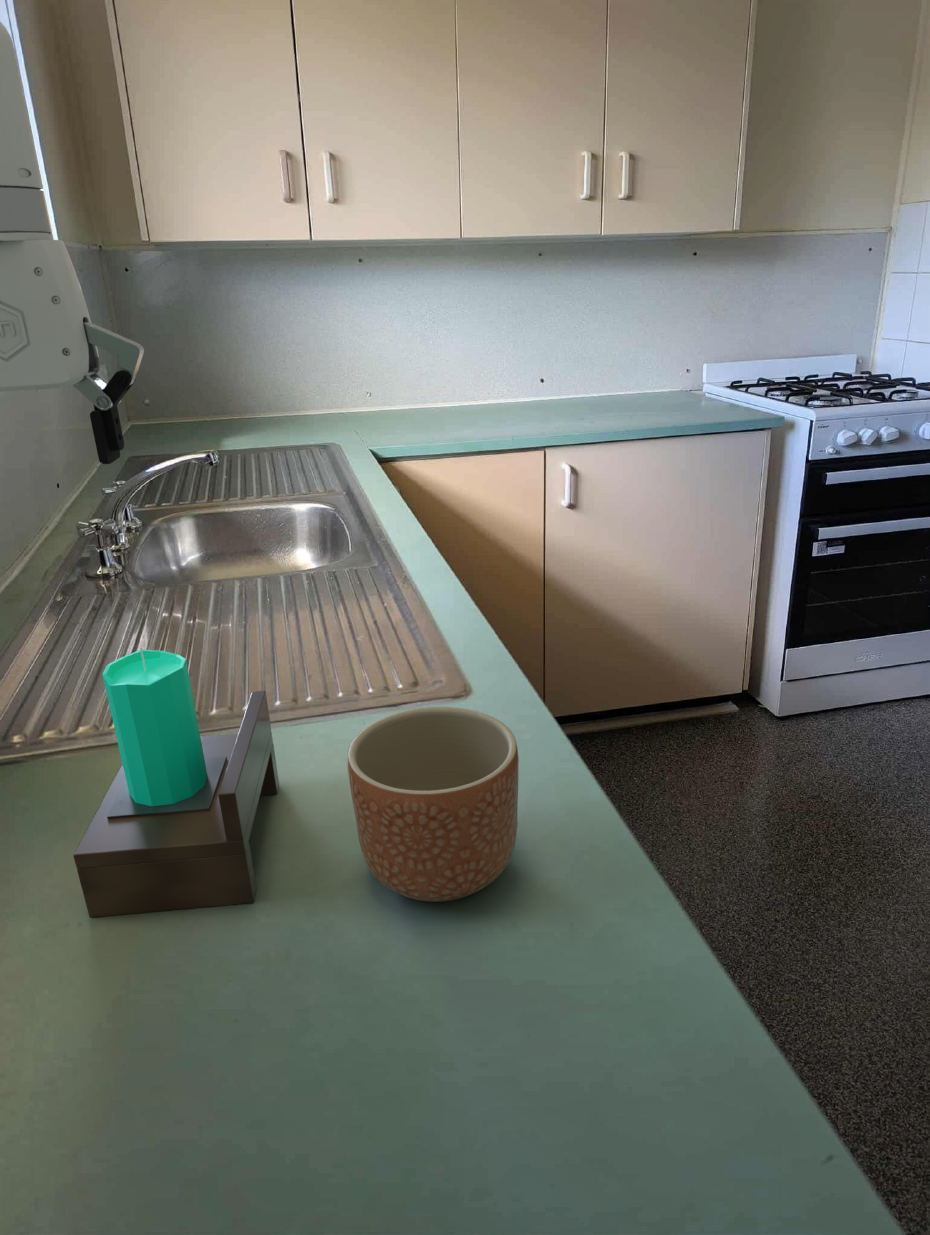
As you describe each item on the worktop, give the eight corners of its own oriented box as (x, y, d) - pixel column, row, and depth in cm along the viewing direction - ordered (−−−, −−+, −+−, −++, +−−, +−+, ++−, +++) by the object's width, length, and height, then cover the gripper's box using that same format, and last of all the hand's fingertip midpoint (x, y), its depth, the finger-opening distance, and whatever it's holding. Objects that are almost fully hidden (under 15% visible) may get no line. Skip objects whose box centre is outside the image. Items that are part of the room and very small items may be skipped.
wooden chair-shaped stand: (89, 917, 64) (60, 807, 60) (145, 795, 79) (125, 701, 75) (254, 903, 65) (235, 793, 61) (279, 784, 80) (265, 690, 76)
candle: (126, 775, 71) (96, 641, 67) (202, 757, 73) (177, 625, 69) (132, 814, 66) (99, 671, 61) (212, 793, 68) (187, 653, 64)
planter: (461, 803, 75) (455, 690, 71) (554, 878, 66) (553, 752, 62) (332, 860, 69) (317, 739, 65) (414, 951, 59) (402, 817, 55)
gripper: (-169, 224, 57) (-94, 483, 63) (101, 212, 58) (148, 468, 64) (-108, 229, 64) (-46, 461, 70) (132, 218, 65) (172, 448, 71)
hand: (47, 464), depth 67 cm, fingers open, 9 cm apart
